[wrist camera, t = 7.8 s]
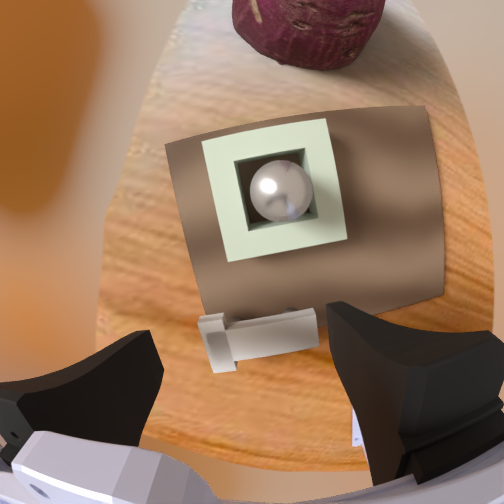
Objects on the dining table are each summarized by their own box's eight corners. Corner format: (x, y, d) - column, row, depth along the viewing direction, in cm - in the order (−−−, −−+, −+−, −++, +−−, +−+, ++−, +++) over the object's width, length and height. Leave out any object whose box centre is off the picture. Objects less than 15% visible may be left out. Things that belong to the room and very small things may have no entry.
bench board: (437, 295, 21) (462, 314, 18) (218, 344, 23) (210, 373, 19) (418, 108, 18) (446, 97, 14) (169, 145, 19) (148, 139, 15)
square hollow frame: (334, 230, 19) (347, 238, 16) (232, 249, 20) (227, 262, 17) (315, 127, 18) (325, 118, 15) (210, 147, 18) (201, 141, 15)
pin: (299, 201, 19) (320, 212, 12) (260, 212, 19) (260, 229, 12) (287, 162, 18) (302, 152, 12) (248, 174, 19) (241, 170, 12)
